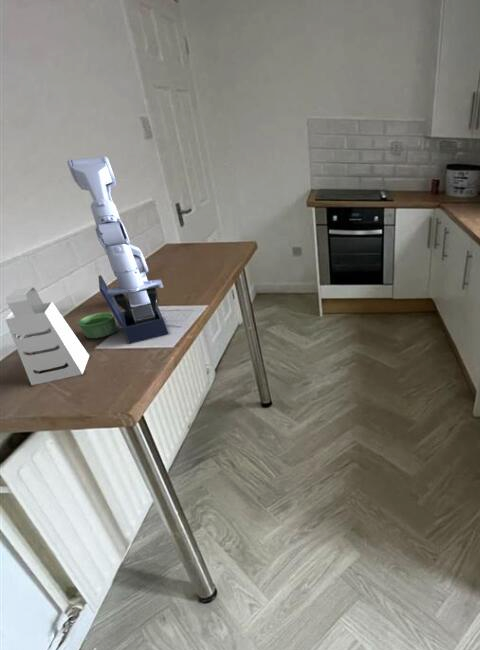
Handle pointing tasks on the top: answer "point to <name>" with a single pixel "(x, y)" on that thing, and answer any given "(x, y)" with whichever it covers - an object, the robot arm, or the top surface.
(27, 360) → the grater
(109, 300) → the cover
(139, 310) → the phone
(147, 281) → the robot arm
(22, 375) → the top surface
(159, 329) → the dark blue box
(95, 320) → the ramekin
